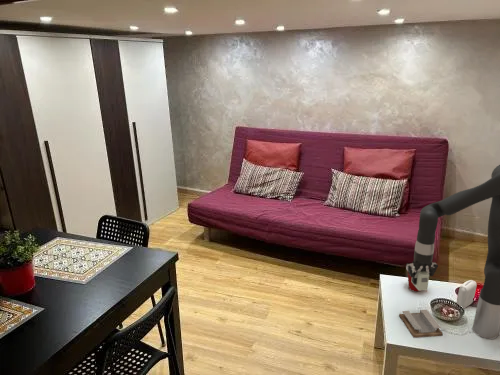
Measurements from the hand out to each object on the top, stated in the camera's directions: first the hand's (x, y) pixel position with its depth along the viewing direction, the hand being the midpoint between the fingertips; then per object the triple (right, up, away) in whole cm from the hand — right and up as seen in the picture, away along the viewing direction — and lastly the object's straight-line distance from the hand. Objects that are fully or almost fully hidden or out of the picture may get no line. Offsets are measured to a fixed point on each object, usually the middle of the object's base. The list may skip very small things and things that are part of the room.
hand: (419, 283), depth 166 cm
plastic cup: (+9, -9, +24) cm, 27 cm away
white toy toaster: (+28, -13, +12) cm, 33 cm away
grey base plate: (-1, -17, -2) cm, 18 cm away
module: (0, -1, 0) cm, 1 cm away
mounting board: (-1, -19, -2) cm, 19 cm away
